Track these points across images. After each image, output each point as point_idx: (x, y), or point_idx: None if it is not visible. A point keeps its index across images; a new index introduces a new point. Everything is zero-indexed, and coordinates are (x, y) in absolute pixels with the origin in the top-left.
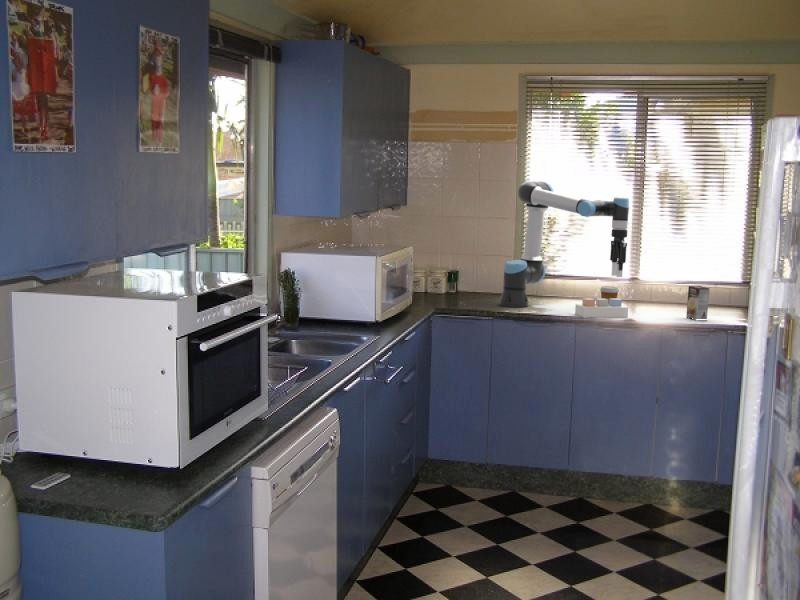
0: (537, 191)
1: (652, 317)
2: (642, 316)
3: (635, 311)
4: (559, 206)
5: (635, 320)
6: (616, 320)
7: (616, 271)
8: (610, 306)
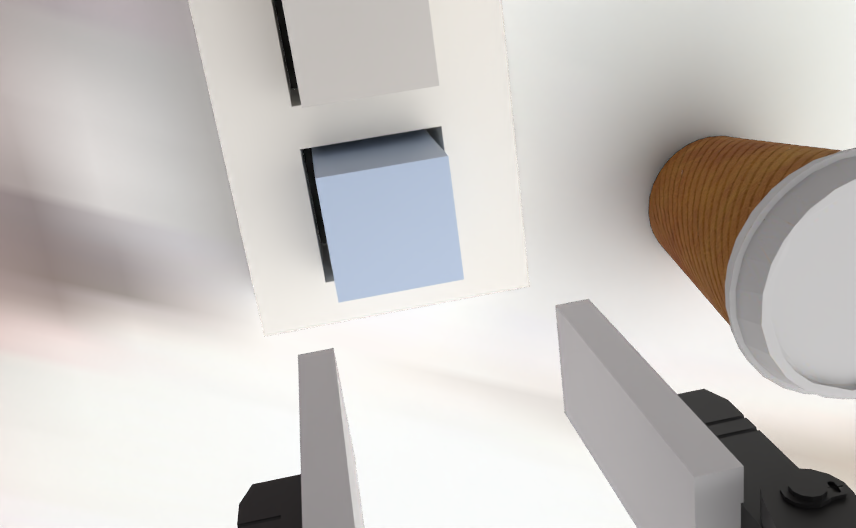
0: None
1: None
2: None
3: None
4: None
5: (63, 323)
6: (3, 106)
7: (594, 441)
8: (291, 124)
